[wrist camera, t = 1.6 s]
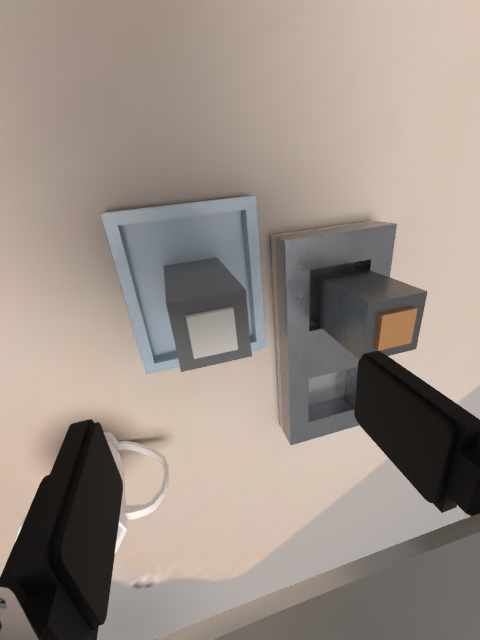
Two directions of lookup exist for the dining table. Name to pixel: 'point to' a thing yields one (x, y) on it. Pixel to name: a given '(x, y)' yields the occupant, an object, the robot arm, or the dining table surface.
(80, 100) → the dining table surface
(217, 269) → the plug
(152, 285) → the tray
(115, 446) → the cup
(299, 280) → the grey socket
